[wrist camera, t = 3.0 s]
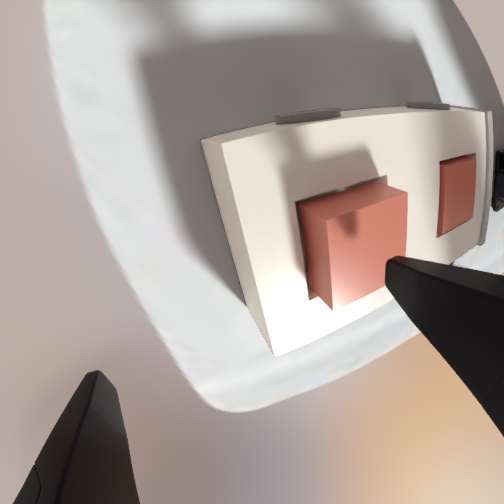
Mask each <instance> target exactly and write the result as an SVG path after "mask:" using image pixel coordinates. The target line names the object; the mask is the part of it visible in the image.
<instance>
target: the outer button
mask: <svg viewBox="0 0 504 504" xmlns="http://www.w3.org/2000/svg"><path fill="white" fill-rule="evenodd" d="M298 205H299V211H300V218H301V224H302V231H303V238H304V245H305V252H306V260H307V267H308V275H309V284H310V288H311V289H312V290H313V291H314V292H315V293H316V294H317V295H318V297H319V298H320V299H321V300H322V301H323V302H324V303H325V304H326V305H327V306H328V307H329V308H330V309H331V310H332V311H333V312H334V311H336V310H338V309H340V308H342V307H344V306H347V305H349V304H351V303H353V302H355V301H357V300H359V299H361V298H363V297H365V296H367V295H369V294H370V293H372V292H374V291H376V290H378V289H380V288H382V287H384V286H386V285H385V265H386V261H387V260H388V259H390V258H392V257H394V256H404V257H405V256H406V241H407V216H408V192H405V191H402V190H400V189H397V188H394V187H391V186H388V185H385V184H382V183H380V182H377V181H375V182H371V183H368V184H364V185H361V186H357V187H354V188H351V189H347V190H344V191H341V192H337V193H334V194H331V195H327V196H324V197H321V198H317V199H314V200H311V201H308V202H305V203H301V204H298Z"/></svg>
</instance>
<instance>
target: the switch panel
mask: <svg viewBox="0 0 504 504" xmlns="http://www.w3.org/2000/svg"><path fill="white" fill-rule="evenodd" d="M274 118H275V122H272V123H267V124H263V125H258V126H253V127H249V128H245V129H240V130H236V131H232V132H228V133H224V134H220V135H217V136H213V137H209V138H206V139H202V140H201V143H202V146H203V150H204V154H205V158H206V162H207V165H208V169H209V173H210V177H211V180H212V184H213V188H214V192H215V195H216V199H217V203H218V206H219V210H220V214H221V217H222V221H223V224H224V228H225V232H226V235H227V239H228V242H229V246H230V249H231V253H232V256H233V260H234V263H235V267H236V270H237V274H238V277H239V281H240V284H241V288H242V291H243V295H244V298H245V301H246V305H247V308H248V310H249V312H250V314H251V315H252V317H253V319H254V321H255V323H256V324H257V326H258V328H259V330H260V332H261V334H262V335H263V337H264V339H265V341H266V343H267V344H268V346H269V348H270V350H271V351H272V353H273V355H274V357H277V356H279V355H282V354H284V353H286V352H289V351H291V350H293V349H296V348H298V347H300V346H302V345H305V344H307V343H309V342H311V341H313V340H315V339H318V338H320V337H322V336H324V335H326V334H328V333H330V332H332V331H334V330H336V329H338V328H340V327H342V326H344V325H346V324H348V323H350V322H352V321H354V320H356V319H358V318H360V317H362V316H364V315H366V314H367V313H369V312H371V311H373V310H375V309H377V308H378V307H380V306H382V305H384V304H386V303H387V302H389V301H391V300H393V299H394V297H393V296H392V294H391V293H390V292H389V290H388V289H387V287H386V286H384V287H382V288H380V289H378V290H376V291H374V292H372V293H370V294H369V295H367V296H365V297H363V298H361V299H359V300H357V301H355V302H353V303H351V304H349V305H347V306H344V307H342V308H340V309H338V310H336V311H334V312H333V311H332V310H331V309H330V308H329V307H328V306H327V305H326V304H325V303H324V302H323V301H322V300H321V299H320V298H319V297H318V295H317V294H316V293H315V292H314V291H313V290H312V289H311V288H310V284H309V275H308V267H307V260H306V252H305V245H304V238H303V231H302V224H301V218H300V211H299V205H298V204H301V203H305V202H308V201H311V200H314V199H317V198H321V197H324V196H327V195H331V194H334V193H337V192H341V191H344V190H347V189H351V188H354V187H357V186H361V185H364V184H368V183H371V182H375V181H377V182H380V183H382V184H385V185H388V186H391V187H394V188H397V189H400V190H402V191H405V192H408V216H407V241H406V256H405V257H409V258H415V259H420V260H426V261H431V262H437V263H442V264H447V265H449V264H450V263H452V262H453V261H455V260H456V259H458V258H459V257H461V256H462V255H463V254H465V253H466V252H468V251H469V250H470V249H472V248H473V247H475V246H476V245H479V246H481V245H482V244H484V243H485V238H486V232H487V226H488V219H489V211H490V203H491V192H492V179H493V119H492V111H488V110H482V109H475V108H468V107H461V106H452V105H450V104H444V103H432V102H407V106H401V107H383V108H370V109H359V110H349V111H341V112H340V109H338V108H335V109H319V110H310V111H302V112H296V113H290V114H284V115H280V116H276V117H274ZM462 155H465V156H469V157H472V158H476V186H475V200H474V211H473V217H471V218H469V219H468V220H466V221H464V222H463V223H461V224H459V225H457V226H455V227H454V228H452V229H450V230H448V231H447V232H445V233H443V234H442V233H440V232H438V231H437V224H438V209H439V183H440V163H439V161H442V160H446V159H450V158H454V157H458V156H462Z"/></svg>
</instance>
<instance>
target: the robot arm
mask: <svg viewBox="0 0 504 504" xmlns="http://www.w3.org/2000/svg"><path fill="white" fill-rule="evenodd" d="M503 207H504V149H503V150H499V151H497V154H496V178H495V192H494V202H493V211H495V212H497V211H499V210H500V209H502V208H503ZM385 285H386V287H387V289H388V290H389V292H390V293H391V294H392V296H393V297H394V298H395V300H396V301H397V302H398V304H399V305H400V306H401V308H402V309H403V310H404V312H405V313H406V314H407V316H408V317H409V318H410V320H411V321H412V322H413V323H414V324H415V326H416V327H417V328H418V329H419V330H420V331H421V332H422V334H423V335H424V336H425V337H426V338H427V339H428V340H429V341H430V343H431V344H432V345H433V346H434V347H435V348H436V350H437V351H438V352H439V353H440V354H441V356H442V357H443V358H444V359H445V360H446V361H447V363H448V364H449V365H450V366H451V367H452V369H453V370H454V371H455V372H456V374H457V375H458V376H459V377H460V379H461V380H462V381H463V382H464V384H465V385H466V386H467V387H468V389H469V390H470V391H471V392H472V394H473V395H474V396H475V398H476V399H477V400H478V402H479V403H480V404H481V405H482V407H483V409H484V410H485V411H486V413H487V414H488V415H489V417H490V418H491V419H492V421H493V422H494V424H495V425H496V426H497V428H498V429H499V431H500V432H501V434H502V435H503V437H504V276H503V275H498V274H493V273H488V272H483V271H478V270H473V269H468V268H463V267H458V266H452V265H447V264H442V263H437V262H431V261H426V260H420V259H415V258H409V257H404V256H394V257H392V258H390V259H388V260H387V261H386V265H385ZM13 504H140V502H139V497H138V493H137V489H136V484H135V479H134V474H133V469H132V464H131V458H130V451H129V445H128V439H127V434H126V430H125V426H124V422H123V417H122V413H121V408H120V403H119V398H118V393H117V391H116V388H115V387H114V386H113V384H112V383H111V382H110V381H109V380H108V379H107V377H106V376H105V375H104V374H103V373H102V372H101V371H99V370H96V371H92V372H89V373H87V374H86V375H85V377H84V379H83V380H82V382H81V383H80V385H79V386H78V388H77V390H76V391H75V393H74V394H73V396H72V398H71V399H70V401H69V403H68V404H67V406H66V408H65V409H64V411H63V413H62V414H61V416H60V418H59V419H58V421H57V423H56V425H55V426H54V428H53V430H52V432H51V434H50V435H49V437H48V439H47V441H46V443H45V444H44V446H43V448H42V450H41V452H40V454H39V455H38V457H37V459H36V461H35V465H33V467H32V469H31V471H30V473H29V475H28V477H27V479H26V481H25V483H24V485H23V487H22V488H21V490H20V492H19V494H18V495H17V497H16V499H15V501H14V502H13Z"/></svg>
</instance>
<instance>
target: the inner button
mask: <svg viewBox="0 0 504 504" xmlns="http://www.w3.org/2000/svg"><path fill="white" fill-rule="evenodd" d="M439 163H440V183H439V209H438V224H437V231H438V232H440V233H442V234H443V233H445V232H447V231H448V230H450V229H452V228H454V227H455V226H457V225H459V224H461V223H463V222H464V221H466V220H468V219H469V218H471V217H473V211H474V200H475V186H476V158H472V157H469V156H465V155H462V156H458V157H454V158H450V159H446V160H442V161H439Z"/></svg>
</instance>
